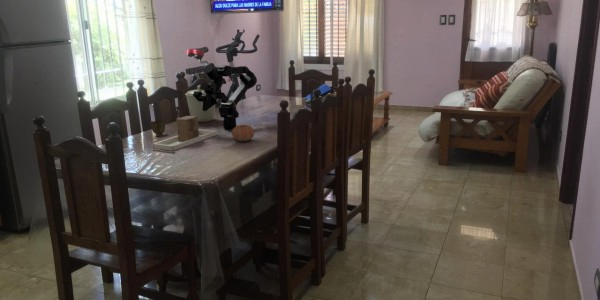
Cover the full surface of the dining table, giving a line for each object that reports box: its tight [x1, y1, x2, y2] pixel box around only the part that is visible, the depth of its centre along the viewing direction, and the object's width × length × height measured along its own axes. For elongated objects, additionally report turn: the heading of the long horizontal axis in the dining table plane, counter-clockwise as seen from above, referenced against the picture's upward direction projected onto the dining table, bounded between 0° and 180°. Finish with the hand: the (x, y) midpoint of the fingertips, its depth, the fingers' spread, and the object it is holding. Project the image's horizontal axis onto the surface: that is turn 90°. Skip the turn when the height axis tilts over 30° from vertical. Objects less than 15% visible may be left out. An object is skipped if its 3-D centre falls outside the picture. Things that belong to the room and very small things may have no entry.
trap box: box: [151, 128, 218, 154], centre depth 227 cm, size 32×12×4 cm, turn 152°
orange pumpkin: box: [231, 124, 255, 143], centre depth 230 cm, size 11×11×8 cm
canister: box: [184, 84, 216, 123], centre depth 279 cm, size 18×18×21 cm
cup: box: [149, 119, 166, 138], centre depth 244 cm, size 8×7×8 cm
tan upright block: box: [176, 115, 200, 142], centre depth 228 cm, size 8×6×11 cm
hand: (203, 110), depth 237 cm, fingers closed
